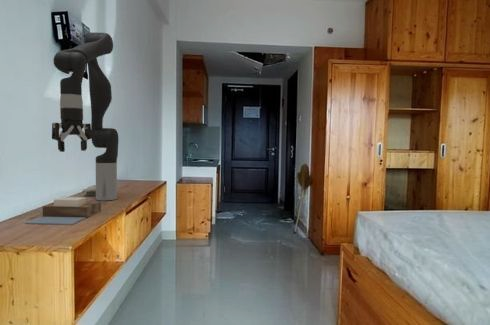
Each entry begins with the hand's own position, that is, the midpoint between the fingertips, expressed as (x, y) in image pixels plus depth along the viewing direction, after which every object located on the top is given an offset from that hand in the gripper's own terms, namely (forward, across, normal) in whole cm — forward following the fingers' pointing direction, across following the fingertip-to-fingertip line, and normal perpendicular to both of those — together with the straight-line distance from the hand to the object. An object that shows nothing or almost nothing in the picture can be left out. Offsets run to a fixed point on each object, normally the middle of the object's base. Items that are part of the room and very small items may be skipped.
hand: (73, 151), depth 129 cm
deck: (+24, 0, 0) cm, 24 cm away
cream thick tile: (+20, +2, 0) cm, 20 cm away
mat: (+24, +10, +5) cm, 26 cm away
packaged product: (+23, -37, -28) cm, 52 cm away
